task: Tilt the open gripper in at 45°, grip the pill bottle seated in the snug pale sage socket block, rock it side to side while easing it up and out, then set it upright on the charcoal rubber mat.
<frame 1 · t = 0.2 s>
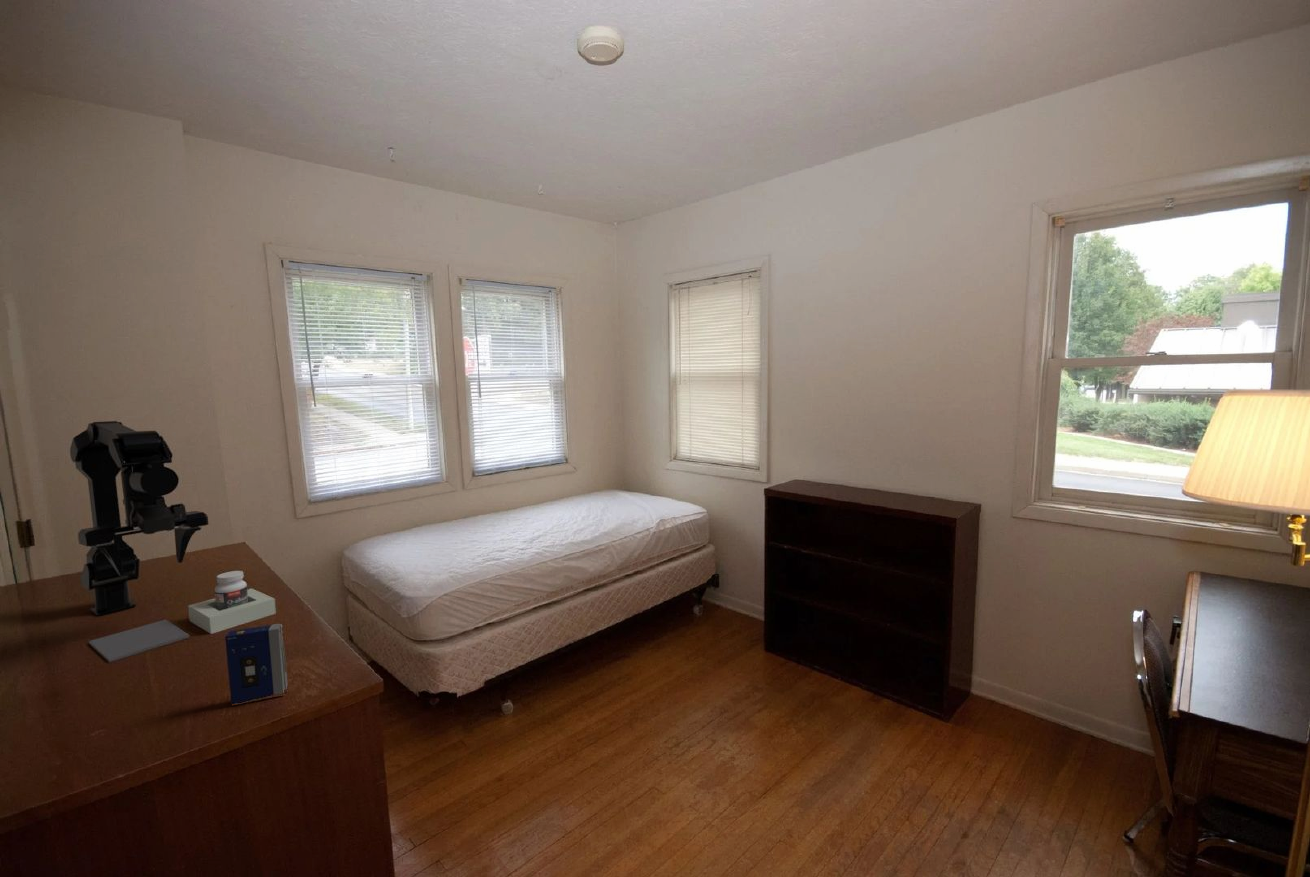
hand: (151, 568, 112), 14 cm above the dresser, tool pointing down, fingers open, 9 cm apart
pill bottle: (233, 618, 122), resting in socket block
socket block: (233, 617, 122), on the dresser
charcoal mat: (139, 640, 111), on the dresser
cassette player: (260, 699, 90), on the dresser
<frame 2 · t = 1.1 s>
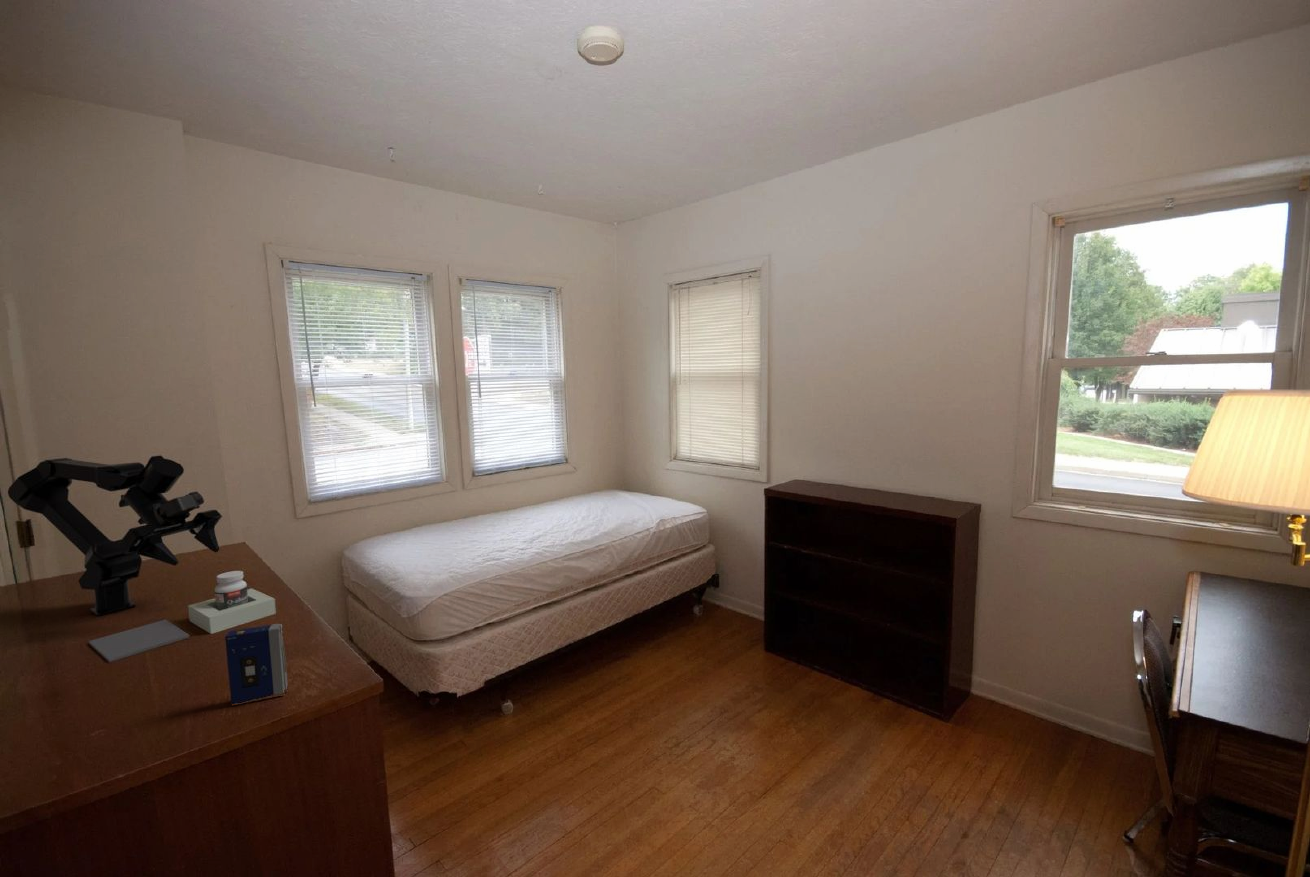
hand: (198, 557, 122), 13 cm above the dresser, tool tilted 45°, fingers open, 9 cm apart
nothing on the dresser moved.
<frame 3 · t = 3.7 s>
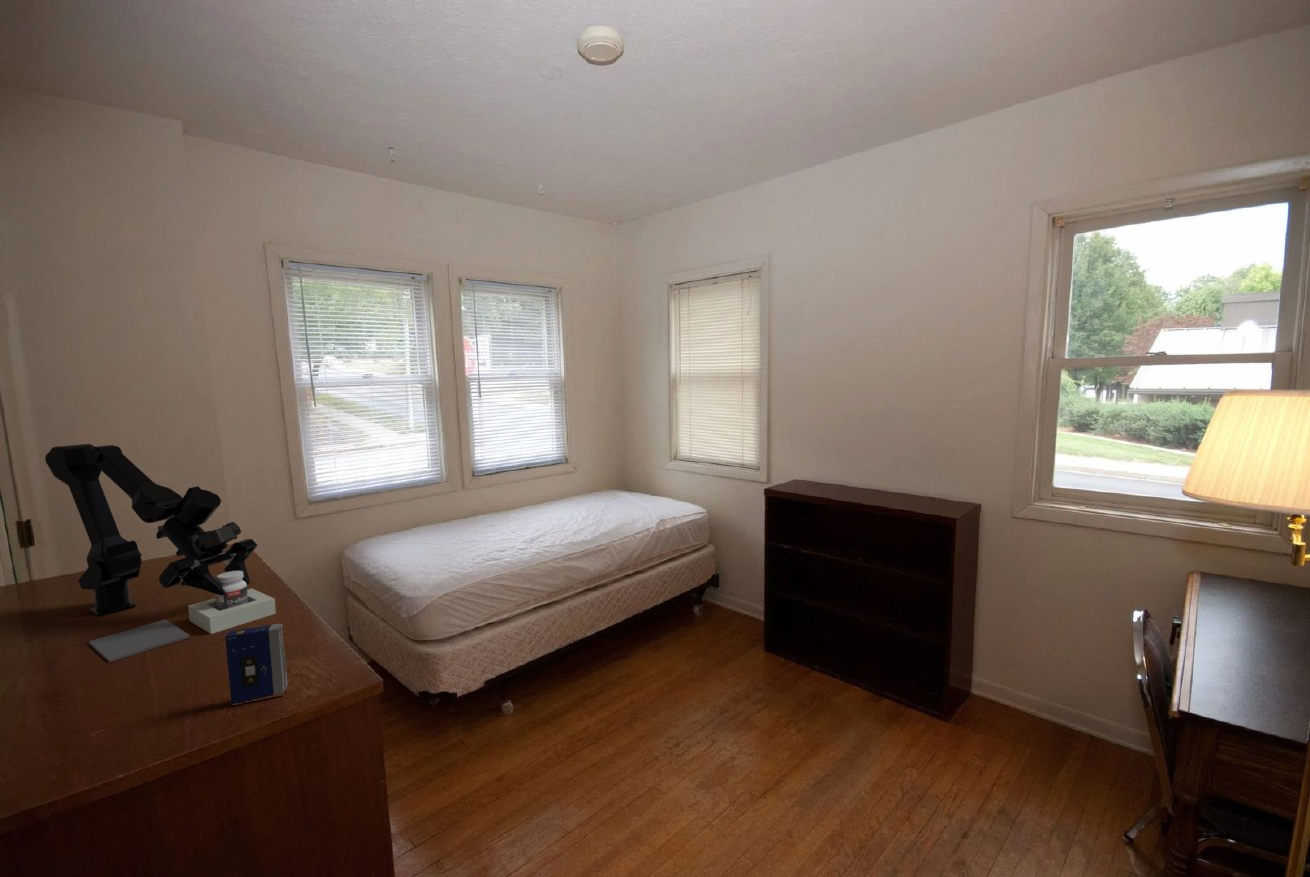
hand: (236, 589, 121), 7 cm above the dresser, tool tilted 45°, fingers closed on pill bottle, 6 cm apart
pill bottle: (233, 618, 122), resting in socket block, touching gripper
everything else where it was.
when the fingers open (8 cm above the dresser, at t = 9.0 s): pill bottle drops 1 cm, resting on charcoal mat.
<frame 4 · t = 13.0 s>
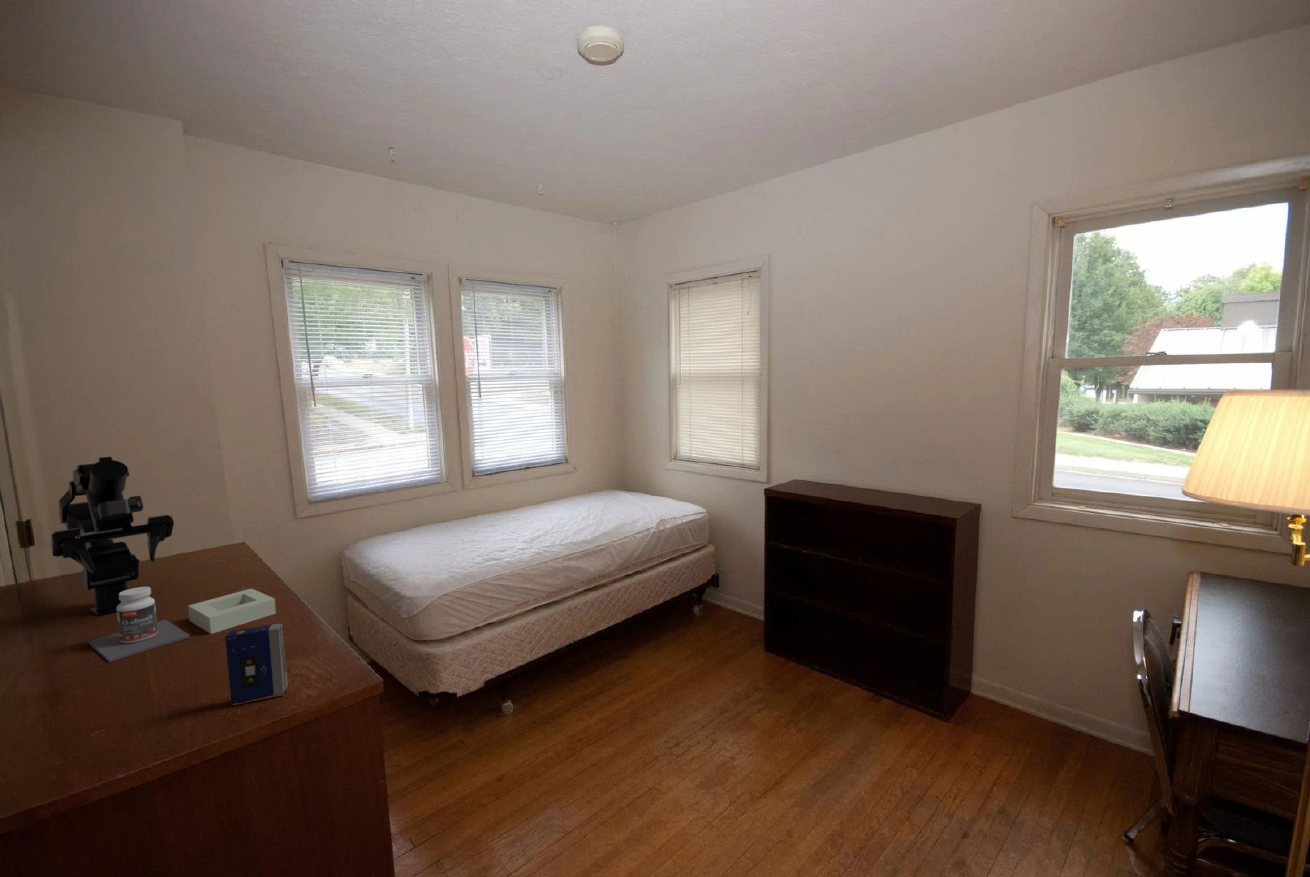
hand: (124, 566, 116), 14 cm above the dresser, tool tilted 45°, fingers open, 9 cm apart
pill bottle: (139, 638, 111), resting on charcoal mat
everything else where it was.
at the end: pill bottle inside the target area on the charcoal mat (0.1 cm from its centre), point 0.3 cm above the charcoal mat's base; pill bottle tilted 0°; the gripper is holding nothing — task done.
